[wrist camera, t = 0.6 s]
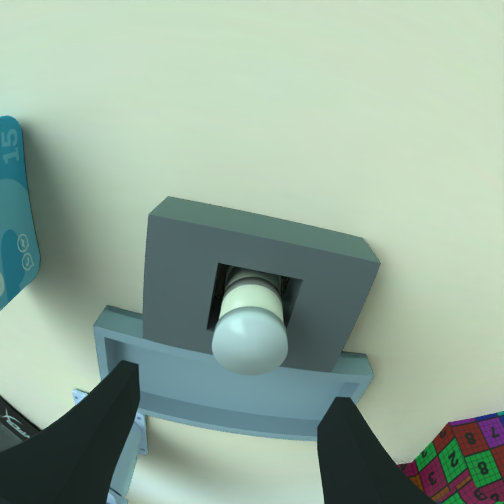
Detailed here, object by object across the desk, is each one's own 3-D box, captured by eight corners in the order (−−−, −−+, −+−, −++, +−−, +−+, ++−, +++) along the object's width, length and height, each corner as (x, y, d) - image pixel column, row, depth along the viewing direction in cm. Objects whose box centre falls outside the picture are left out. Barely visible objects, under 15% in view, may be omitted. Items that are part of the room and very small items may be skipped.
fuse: (273, 302, 21) (277, 380, 15) (222, 292, 21) (207, 368, 14) (286, 257, 20) (297, 327, 13) (232, 245, 19) (217, 312, 13)
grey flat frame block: (323, 338, 22) (331, 372, 19) (157, 307, 21) (142, 338, 18) (362, 237, 19) (380, 262, 16) (168, 196, 18) (148, 214, 15)
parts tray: (325, 420, 26) (329, 441, 24) (114, 383, 25) (105, 402, 23) (365, 354, 23) (373, 376, 20) (106, 305, 22) (93, 325, 19)
